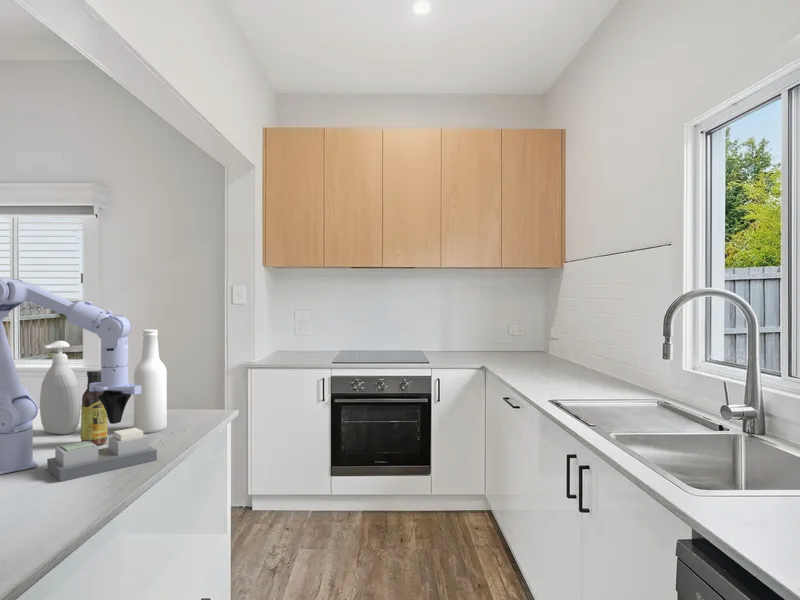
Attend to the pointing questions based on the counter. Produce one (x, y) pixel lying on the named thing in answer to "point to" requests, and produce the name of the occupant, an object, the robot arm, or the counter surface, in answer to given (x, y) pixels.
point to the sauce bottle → (93, 413)
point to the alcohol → (150, 387)
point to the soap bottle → (60, 395)
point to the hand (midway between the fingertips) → (115, 422)
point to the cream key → (128, 434)
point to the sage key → (76, 446)
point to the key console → (100, 458)
